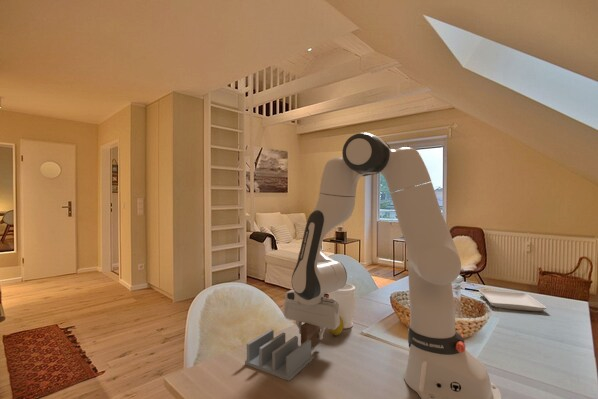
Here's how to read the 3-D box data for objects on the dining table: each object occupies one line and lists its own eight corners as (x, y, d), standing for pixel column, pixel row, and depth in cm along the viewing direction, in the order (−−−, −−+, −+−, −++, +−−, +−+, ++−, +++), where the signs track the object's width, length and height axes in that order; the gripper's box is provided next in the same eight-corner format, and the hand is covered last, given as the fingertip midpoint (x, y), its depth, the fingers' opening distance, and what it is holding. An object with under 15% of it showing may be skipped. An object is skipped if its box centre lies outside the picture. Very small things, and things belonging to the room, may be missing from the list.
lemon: (343, 339, 105) (342, 316, 105) (327, 338, 106) (327, 315, 106) (343, 332, 111) (343, 311, 111) (328, 331, 112) (328, 310, 112)
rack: (312, 359, 92) (312, 339, 92) (289, 381, 81) (289, 358, 81) (271, 346, 101) (271, 328, 101) (244, 364, 90) (244, 344, 90)
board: (320, 341, 104) (320, 318, 105) (307, 352, 97) (307, 327, 97) (314, 339, 106) (314, 316, 106) (300, 350, 98) (300, 325, 98)
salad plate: (526, 299, 147) (526, 292, 147) (548, 315, 127) (548, 307, 127) (477, 295, 153) (477, 288, 153) (490, 310, 133) (490, 302, 133)
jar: (323, 324, 119) (322, 286, 119) (340, 317, 125) (340, 281, 125) (344, 332, 111) (343, 292, 111) (361, 325, 117) (360, 286, 118)
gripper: (342, 297, 98) (343, 339, 98) (291, 288, 109) (291, 326, 109) (334, 303, 93) (334, 347, 93) (280, 292, 104) (281, 332, 104)
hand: (311, 336), depth 101 cm, fingers open, 5 cm apart
